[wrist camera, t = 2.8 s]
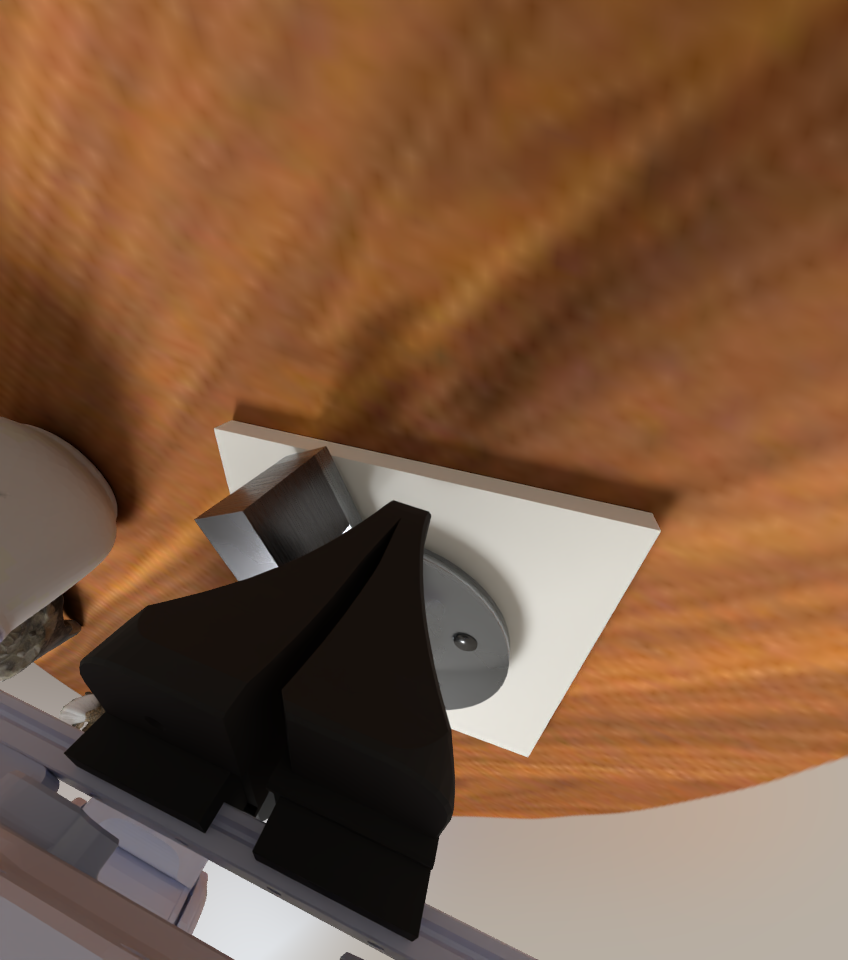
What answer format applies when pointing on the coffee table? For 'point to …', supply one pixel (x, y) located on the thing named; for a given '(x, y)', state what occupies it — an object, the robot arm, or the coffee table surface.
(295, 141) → the coffee table surface
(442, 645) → the flange plate
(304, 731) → the robot arm
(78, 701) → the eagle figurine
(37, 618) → the fossil
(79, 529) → the teacup
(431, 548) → the base plate
